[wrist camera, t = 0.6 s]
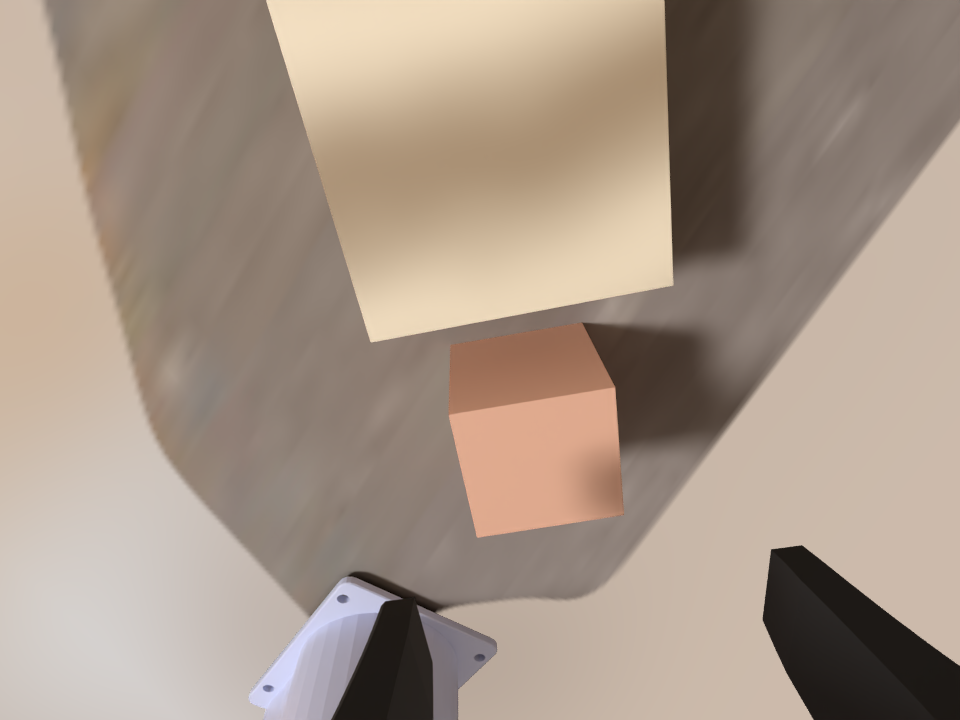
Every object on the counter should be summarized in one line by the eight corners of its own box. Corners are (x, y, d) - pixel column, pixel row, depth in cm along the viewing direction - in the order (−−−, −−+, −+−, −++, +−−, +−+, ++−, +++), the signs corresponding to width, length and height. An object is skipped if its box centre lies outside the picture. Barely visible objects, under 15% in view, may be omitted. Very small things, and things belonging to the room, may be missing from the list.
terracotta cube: (591, 431, 21) (624, 515, 17) (473, 450, 21) (477, 537, 17) (581, 321, 19) (615, 387, 15) (450, 343, 19) (448, 414, 15)
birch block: (629, 244, 18) (673, 285, 14) (387, 291, 18) (370, 342, 15) (610, -57, 14) (660, -103, 11) (308, 9, 15) (262, -14, 11)
